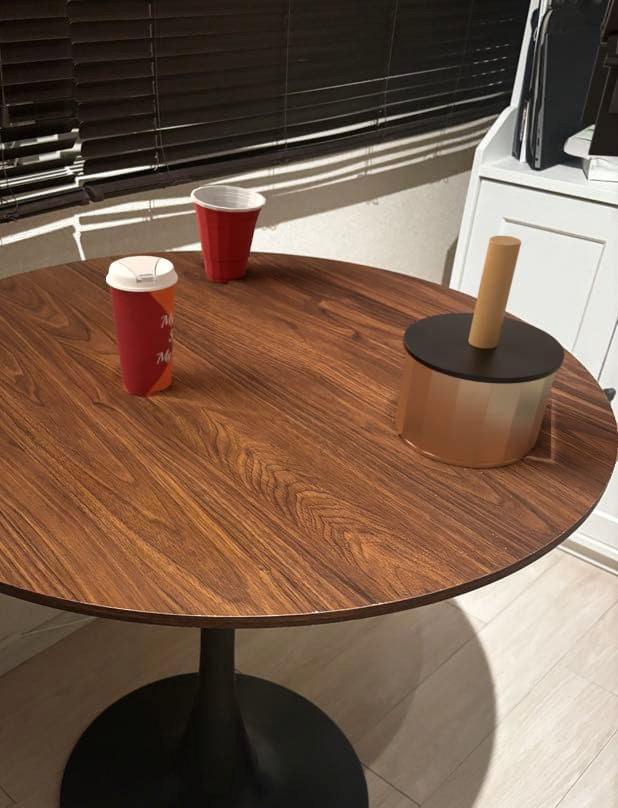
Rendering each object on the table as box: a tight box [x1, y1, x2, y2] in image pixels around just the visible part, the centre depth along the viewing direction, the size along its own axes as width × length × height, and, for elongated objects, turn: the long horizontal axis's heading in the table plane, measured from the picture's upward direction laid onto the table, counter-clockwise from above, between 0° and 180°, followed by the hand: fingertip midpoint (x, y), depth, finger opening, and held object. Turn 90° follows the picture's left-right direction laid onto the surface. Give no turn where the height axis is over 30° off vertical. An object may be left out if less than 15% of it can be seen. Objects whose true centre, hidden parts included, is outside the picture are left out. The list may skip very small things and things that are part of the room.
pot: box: [394, 350, 557, 469], centre depth 83 cm, size 14×14×10 cm
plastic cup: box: [190, 185, 267, 284], centre depth 119 cm, size 11×11×12 cm
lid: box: [402, 235, 565, 384], centre depth 77 cm, size 15×15×11 cm
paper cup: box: [105, 255, 179, 398], centre depth 90 cm, size 8×8×14 cm
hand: (599, 139), depth 74 cm, fingers open, 13 cm apart
